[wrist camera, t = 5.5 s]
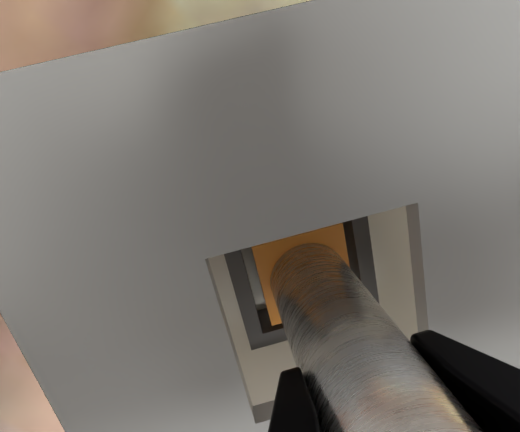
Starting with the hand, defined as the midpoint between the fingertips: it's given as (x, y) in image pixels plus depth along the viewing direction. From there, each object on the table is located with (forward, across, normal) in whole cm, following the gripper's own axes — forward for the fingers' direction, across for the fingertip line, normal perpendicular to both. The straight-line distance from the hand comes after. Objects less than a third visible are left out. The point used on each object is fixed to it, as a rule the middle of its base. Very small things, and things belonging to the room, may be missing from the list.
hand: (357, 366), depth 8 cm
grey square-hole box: (+7, 0, 0) cm, 7 cm away
